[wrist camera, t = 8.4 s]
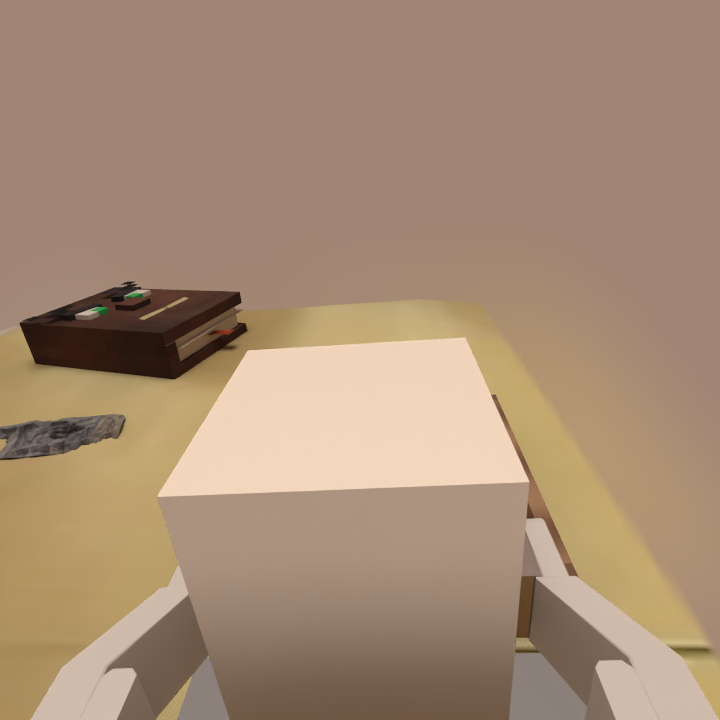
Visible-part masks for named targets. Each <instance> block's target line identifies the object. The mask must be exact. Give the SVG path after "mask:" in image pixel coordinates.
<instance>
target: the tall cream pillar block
mask: <svg viewBox="0 0 720 720" xmlns="http://www.w3.org/2000/svg"><path fill="white" fill-rule="evenodd" d="M528 494H529V480H528V478H527V475H526V473H525V471H524V469H523V466H522V464H521V462H520V459H519V457H518V455H517V453H516V450H515V448H514V446H513V444H512V441H511V439H510V437H509V435H508V432H507V430H506V428H505V426H504V423H503V421H502V419H501V417H500V414H499V412H498V410H497V408H496V405H495V403H494V401H493V399H492V396H491V394H490V392H489V390H488V387H487V385H486V383H485V381H484V378H483V376H482V374H481V372H480V369H479V367H478V365H477V363H476V360H475V358H474V356H473V354H472V351H471V349H470V347H469V345H468V342H467V340H466V338H449V339H433V340H416V341H399V342H383V343H366V344H349V345H333V346H316V347H299V348H283V349H266V350H249V351H247V353H246V355H245V356H244V358H243V359H242V361H241V363H240V364H239V366H238V367H237V369H236V371H235V372H234V374H233V375H232V377H231V379H230V380H229V382H228V384H227V385H226V387H225V388H224V390H223V392H222V393H221V395H220V396H219V398H218V400H217V401H216V403H215V404H214V406H213V408H212V409H211V411H210V412H209V414H208V416H207V417H206V419H205V420H204V422H203V424H202V425H201V427H200V429H199V430H198V432H197V433H196V435H195V437H194V438H193V440H192V441H191V443H190V445H189V446H188V448H187V449H186V451H185V453H184V454H183V456H182V457H181V459H180V461H179V462H178V464H177V465H176V467H175V469H174V470H173V472H172V474H171V475H170V477H169V478H168V480H167V482H166V483H165V485H164V486H163V488H162V490H161V491H160V493H159V494H158V496H157V499H158V502H159V505H160V508H161V511H162V514H163V517H164V520H165V523H166V526H167V529H168V532H169V536H170V539H171V542H172V545H173V548H174V551H175V554H176V557H177V560H178V563H179V566H180V569H181V572H182V575H183V578H184V581H185V584H186V588H187V591H188V594H189V597H190V600H191V603H192V606H193V609H194V612H195V615H196V618H197V621H198V624H199V627H200V630H201V633H202V636H203V640H204V643H205V646H206V649H207V652H208V655H209V658H210V661H211V664H212V667H213V670H214V673H215V676H216V679H217V682H218V685H219V688H220V692H221V695H222V698H223V701H224V704H225V707H226V710H227V713H228V716H229V719H230V720H509V714H510V703H511V691H512V680H513V668H514V656H515V645H516V633H517V622H518V610H519V598H520V587H521V575H522V563H523V552H524V540H525V529H526V517H527V505H528Z"/></svg>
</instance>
